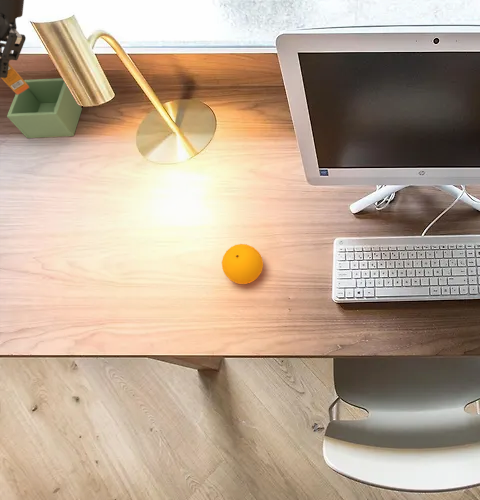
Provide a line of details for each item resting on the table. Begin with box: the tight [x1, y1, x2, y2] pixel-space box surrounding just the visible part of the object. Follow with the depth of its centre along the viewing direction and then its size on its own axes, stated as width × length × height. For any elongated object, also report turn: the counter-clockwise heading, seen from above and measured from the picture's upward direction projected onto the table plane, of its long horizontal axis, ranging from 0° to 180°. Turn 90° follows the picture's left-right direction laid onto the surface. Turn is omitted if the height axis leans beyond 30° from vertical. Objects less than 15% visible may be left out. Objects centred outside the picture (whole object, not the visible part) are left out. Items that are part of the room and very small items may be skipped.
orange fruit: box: [221, 243, 264, 285], centre depth 97 cm, size 8×8×8 cm
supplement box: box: [1, 63, 29, 95], centre depth 104 cm, size 3×3×10 cm
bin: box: [6, 77, 83, 139], centre depth 119 cm, size 12×12×8 cm
